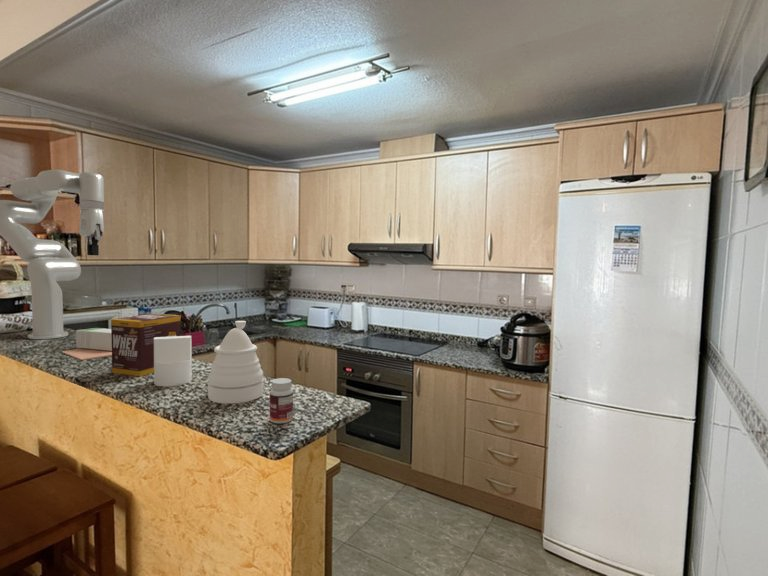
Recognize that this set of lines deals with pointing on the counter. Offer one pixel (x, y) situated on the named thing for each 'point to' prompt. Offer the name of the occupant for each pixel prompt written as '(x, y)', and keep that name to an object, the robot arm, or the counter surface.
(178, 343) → the cylinder with rectangular tab
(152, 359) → the supplement box
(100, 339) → the skincare box
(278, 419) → the pill bottle
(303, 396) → the counter surface
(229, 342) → the honey pot
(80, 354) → the mat
